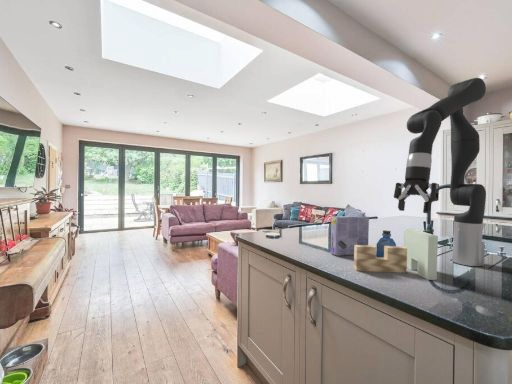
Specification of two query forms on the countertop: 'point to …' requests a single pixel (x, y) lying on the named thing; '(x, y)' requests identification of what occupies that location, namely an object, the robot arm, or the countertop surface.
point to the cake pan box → (348, 234)
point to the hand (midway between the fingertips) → (413, 211)
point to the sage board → (421, 252)
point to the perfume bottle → (384, 243)
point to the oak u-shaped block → (380, 259)
